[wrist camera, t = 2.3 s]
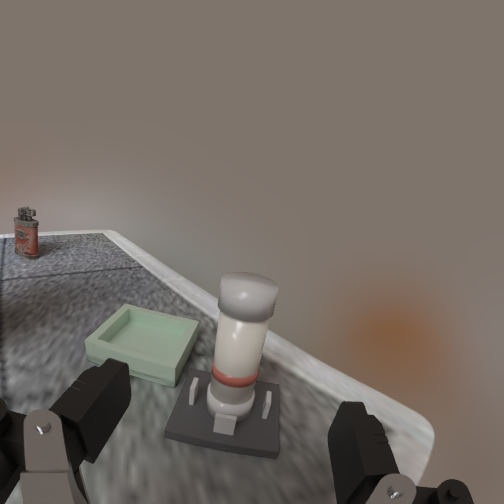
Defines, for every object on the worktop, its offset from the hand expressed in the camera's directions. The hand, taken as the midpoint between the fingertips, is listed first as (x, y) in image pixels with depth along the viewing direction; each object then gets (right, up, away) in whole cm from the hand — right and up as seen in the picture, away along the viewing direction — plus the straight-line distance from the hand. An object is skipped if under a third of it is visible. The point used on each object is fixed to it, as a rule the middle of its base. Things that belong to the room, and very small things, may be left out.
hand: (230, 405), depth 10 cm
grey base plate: (-1, -9, +14) cm, 17 cm away
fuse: (-1, -8, +14) cm, 16 cm away
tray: (-11, -6, +21) cm, 25 cm away
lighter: (-46, +5, +39) cm, 61 cm away
